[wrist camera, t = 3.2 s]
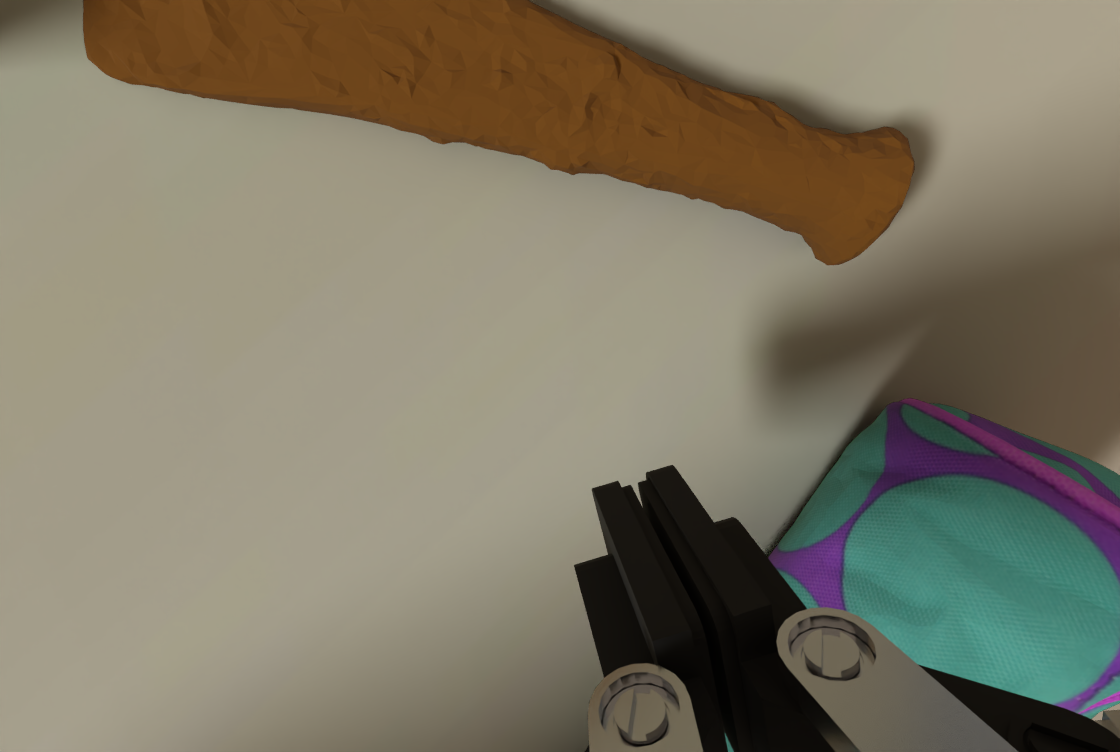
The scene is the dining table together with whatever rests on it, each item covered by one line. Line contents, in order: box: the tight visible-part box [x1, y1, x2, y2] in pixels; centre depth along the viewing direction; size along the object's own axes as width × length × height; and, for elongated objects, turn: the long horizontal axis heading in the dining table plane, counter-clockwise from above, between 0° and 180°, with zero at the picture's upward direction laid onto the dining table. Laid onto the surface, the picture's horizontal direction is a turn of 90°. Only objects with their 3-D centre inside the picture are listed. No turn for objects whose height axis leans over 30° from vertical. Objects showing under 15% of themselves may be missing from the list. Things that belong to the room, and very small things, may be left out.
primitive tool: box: [83, 0, 915, 265], centre depth 13 cm, size 19×6×4 cm, turn 76°
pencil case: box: [725, 398, 1120, 752], centre depth 17 cm, size 21×9×10 cm, turn 152°
